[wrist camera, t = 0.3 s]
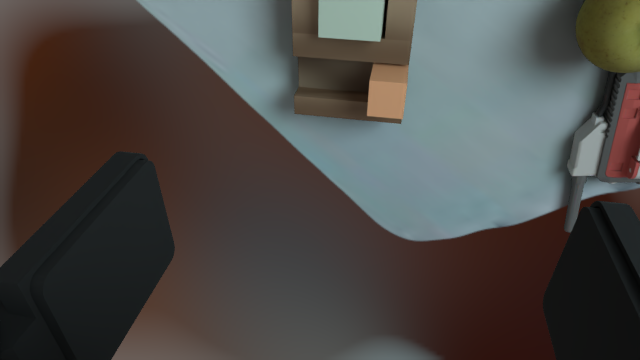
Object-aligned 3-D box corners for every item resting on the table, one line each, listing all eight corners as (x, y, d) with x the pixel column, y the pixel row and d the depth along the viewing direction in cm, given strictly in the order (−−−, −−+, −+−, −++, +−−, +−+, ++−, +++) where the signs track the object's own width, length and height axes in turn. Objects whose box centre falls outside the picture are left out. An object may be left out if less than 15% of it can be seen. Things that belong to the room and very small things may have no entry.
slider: (374, 57, 41) (369, 80, 37) (408, 60, 40) (407, 83, 36) (371, 90, 43) (366, 115, 39) (404, 93, 42) (402, 119, 38)
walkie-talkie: (586, 46, 40) (554, 222, 51) (602, 66, 36) (564, 251, 47) (704, 37, 38) (644, 223, 49) (734, 57, 34) (661, 252, 45)
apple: (698, -7, 36) (751, 22, 30) (603, 68, 40) (632, 106, 34) (636, -74, 34) (679, -57, 28) (543, 12, 38) (565, 42, 33)
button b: (325, -38, 37) (318, -30, 34) (388, -35, 36) (386, -26, 34) (324, 25, 40) (318, 37, 37) (382, 29, 39) (380, 41, 37)
